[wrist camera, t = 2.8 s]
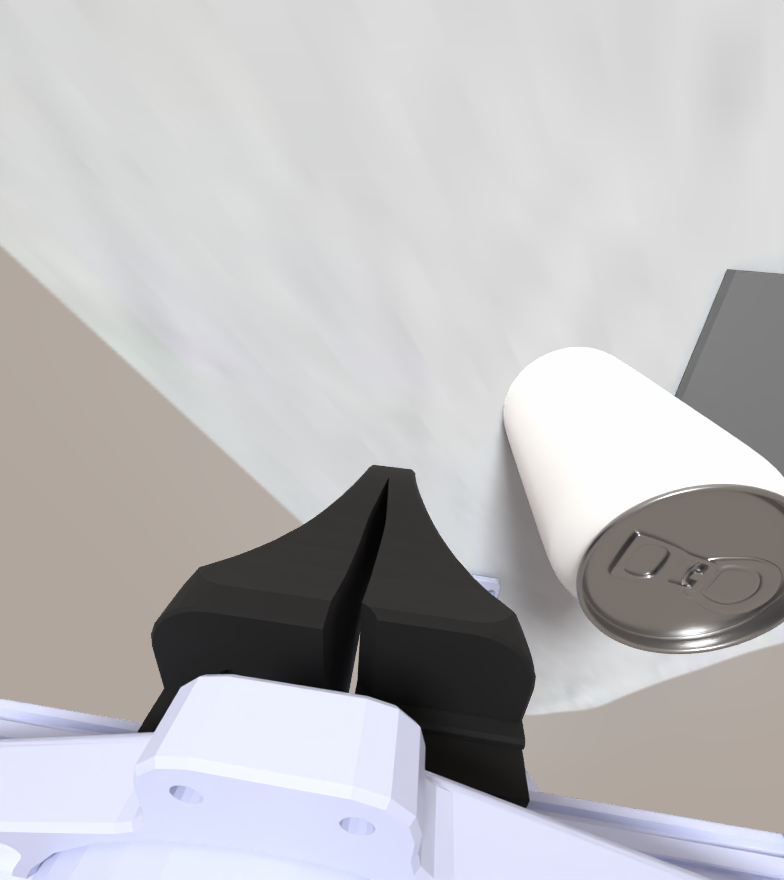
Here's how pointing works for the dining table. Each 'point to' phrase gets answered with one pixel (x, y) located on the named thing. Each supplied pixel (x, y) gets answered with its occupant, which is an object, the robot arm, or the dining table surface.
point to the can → (647, 506)
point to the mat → (742, 363)
